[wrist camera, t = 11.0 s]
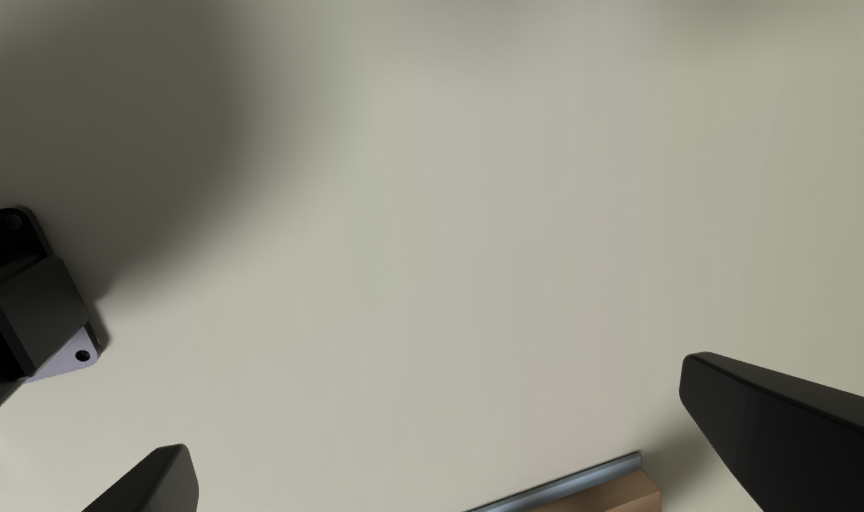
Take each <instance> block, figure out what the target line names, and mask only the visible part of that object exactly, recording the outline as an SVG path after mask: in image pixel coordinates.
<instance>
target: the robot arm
mask: <svg viewBox="0 0 864 512" xmlns="http://www.w3.org/2000/svg"><path fill="white" fill-rule="evenodd" d="M12 215H16V216H18V217H19V218H20V219H21V220H22V225H21V226H18V225H16V224H14V223H13V222H12V220H11V216H12ZM89 317H90V315H89V313H88V311H87V309H86V307H85V305H84V303H83V301H82V299H81V297H80V295H79V293H78V291H77V289H76V287H75V285H74V283H73V280H72V278H71V276H70V274H69V272H68V270H67V268H66V266H65V264H64V262H63V260H62V259H61V258H59V257H57V256H56V255H55V254H54V252H53V250H52V248H51V246H50V244H49V242H48V240H47V238H46V236H45V234H44V232H43V230H42V228H41V226H40V224H39V222H38V220H37V218H36V216H35V215H34V214H33V212H32V211H31V210H29V209H28V208H26V207H24V206H20V205H14V206H8V207H4V208H0V407H1V406H2V405H3V404H4V403H5V402H6V401H7V400H8V399H9V398H10V397H11V395H12V394H13V393H14V392H15V391H16V390H17V389H18V388H19V387H20V386H21V385H22V384H25V383H29V382H33V381H37V380H40V379H44V378H48V377H52V376H56V375H59V374H63V373H67V372H71V371H74V370H78V369H82V368H86V367H89V366H91V365H93V364H94V363H95V362H96V361H97V360H98V358H99V357H100V356H101V353H102V351H101V347H100V345H99V343H98V341H97V339H96V337H95V335H94V333H93V331H92V329H91V327H90V325H89V323H88V321H87V320H88V319H89ZM80 350H85V351H88V352H89V354H90V356H88V357H86V356H83V355H82V354H81V353H80ZM679 396H680V399H681V401H682V404H683V405H684V407H685V408H686V410H687V411H688V412H689V414H690V415H691V417H692V418H693V420H694V421H695V422H696V424H697V425H698V427H699V428H700V429H701V431H702V432H703V434H704V435H705V437H706V438H707V439H708V441H709V442H710V444H711V445H712V446H713V448H714V449H715V451H716V452H717V454H718V455H719V456H720V458H721V459H722V461H723V462H724V463H725V465H726V466H727V467H728V469H729V470H730V472H731V473H732V474H733V475H734V477H735V478H736V479H737V480H738V482H739V483H740V484H741V485H742V487H743V488H744V489H745V490H746V491H747V492H748V494H749V495H750V496H751V497H752V498H753V500H754V501H755V502H756V503H757V504H758V506H759V507H760V508H761V509H762V510H763V511H764V512H864V397H863V396H859V395H856V394H852V393H849V392H845V391H842V390H838V389H835V388H832V387H828V386H825V385H821V384H818V383H814V382H811V381H808V380H804V379H801V378H797V377H794V376H790V375H787V374H783V373H780V372H777V371H773V370H770V369H766V368H763V367H759V366H756V365H753V364H749V363H746V362H742V361H739V360H735V359H732V358H729V357H725V356H722V355H718V354H715V353H711V352H699V353H694V354H689V355H687V356H686V357H685V358H684V360H683V364H682V371H681V379H680V386H679ZM198 498H199V486H198V481H197V477H196V474H195V470H194V467H193V463H192V460H191V456H190V453H189V450H188V448H187V447H186V445H184V444H175V445H169V446H163V447H159V448H156V449H155V450H154V451H152V452H151V453H150V454H149V455H148V456H146V457H145V458H144V459H143V460H142V461H140V462H139V463H138V464H137V465H136V466H135V467H133V468H132V469H131V470H130V471H129V472H127V473H126V474H125V475H124V476H123V477H122V478H120V479H119V480H118V481H117V482H116V483H115V484H113V485H112V486H111V487H110V488H109V489H107V490H106V491H105V492H104V493H103V494H102V495H100V496H99V497H98V498H97V499H96V500H94V501H93V502H92V503H91V504H90V505H89V506H87V507H86V508H85V509H84V510H83V511H82V512H196V510H197V504H198Z"/></svg>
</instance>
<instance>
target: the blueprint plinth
mask: <svg viewBox="0 0 864 512" xmlns="http://www.w3.org/2000/svg"><path fill="white" fill-rule="evenodd" d="M471 512H661V490H660V489H659V488H658V487H657V486H656V485H655V484H654V482H653V481H652V480H651V479H650V478H649V477H648V476H647V475H646V473H645V472H644V471H643V470H642V469H641V455H640V454H639V453H638V452H637V453H634V454H632V455H629V456H626V457H623V458H620V459H617V460H615V461H612V462H609V463H606V464H603V465H601V466H598V467H595V468H592V469H589V470H587V471H584V472H581V473H578V474H575V475H573V476H570V477H567V478H564V479H561V480H559V481H556V482H553V483H550V484H547V485H544V486H542V487H539V488H536V489H533V490H530V491H528V492H525V493H522V494H519V495H516V496H514V497H511V498H508V499H505V500H502V501H500V502H497V503H494V504H491V505H488V506H486V507H483V508H480V509H477V510H474V511H471Z"/></svg>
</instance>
